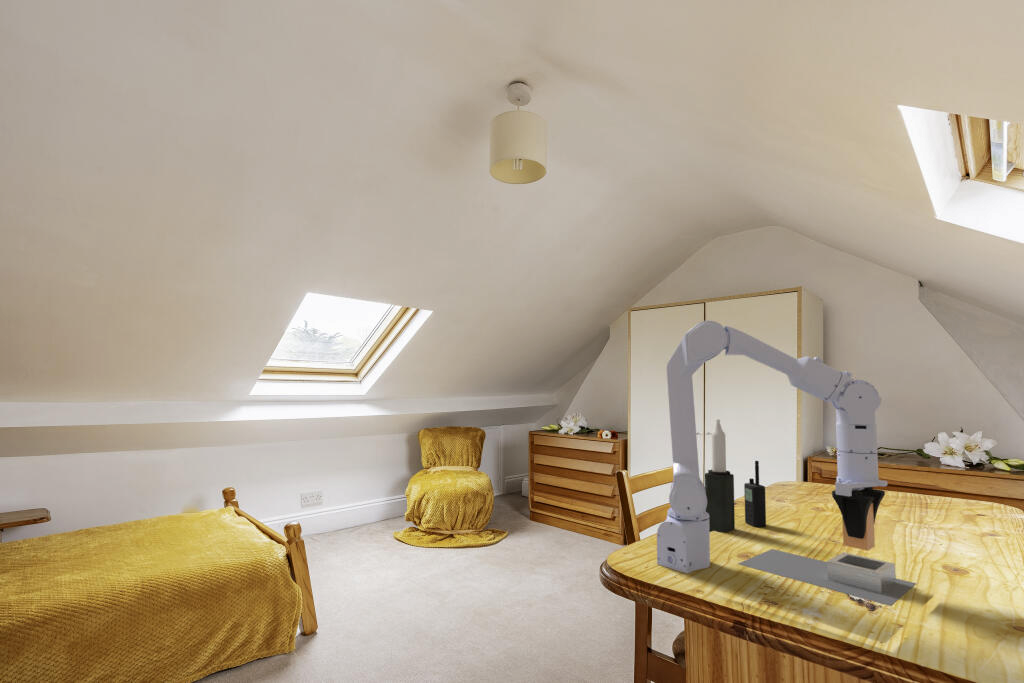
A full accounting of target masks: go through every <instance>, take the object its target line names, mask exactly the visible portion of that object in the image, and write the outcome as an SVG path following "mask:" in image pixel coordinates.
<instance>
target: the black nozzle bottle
mask: <svg viewBox="0 0 1024 683" xmlns="http://www.w3.org/2000/svg"><path fill="white" fill-rule="evenodd" d="M715 421H716V423H715V426H714V429H713V431H712V433H711V469H707V471H708V472H705V473H704V487H705V491H706V497H707V507H706V509H705V511H706V512H707V513H708V514H709V533H711V532H719V533H722V534H723V533H725V534H726V533H729V532H731V531H732V532H733V531H735V530H736V527H735V526H736V523H735V522H736V520H735V518H736V516H735V480H734V479H735V478H734V477H735V476H734V475H735V474H733V473H731V471H729V470H727V457H726V456H727V453H726V452H727V449H726V441H727V440H726V433H725V432H724V430H723V428H722V425H721V420H720V419H719V418H717V419H716V420H715Z"/></svg>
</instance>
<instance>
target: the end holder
mask: <svg viewBox="0 0 1024 683" xmlns="http://www.w3.org/2000/svg"><path fill="white" fill-rule="evenodd" d="M826 562H827V566H828V580H831V581H835V582H839V583H842V584H846V585H850V586H854V587H858V588H862V589H865V590H869V591H873V592H877V593H881V594H882V593H883V592H884V591H886V590H887V589H888V588H889V587H891V586H892V585H893V584H895V583H896V579H897V578H896V576H897V575H896V563H894V562H891V561H885V560H881V559H875V558H872V557H866V556H863V555H859V554H858V555H857V554H853V553H849V552H844V551H843V552H841V553H839V554H837V555H836V556H834V557H832V558H830V559H829V560H828V559H827V561H826Z"/></svg>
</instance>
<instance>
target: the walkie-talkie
mask: <svg viewBox="0 0 1024 683" xmlns="http://www.w3.org/2000/svg"><path fill="white" fill-rule="evenodd" d="M759 463H760V461H759V460H755V461H754V475H755V476H754V477H755V479H754V478H749V482H745V483H744V486H743V487H744V489H743V491H744V521H745V522H744V523H745V524H748V525H749V526H752V527H755V528H766V527H767V515H766V514H767V509H766V508H767V506H766V505H767V504H766V503H767V502H766V487H765V485H762V484H760V466H759V465H760V464H759Z"/></svg>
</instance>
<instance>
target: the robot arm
mask: <svg viewBox="0 0 1024 683" xmlns="http://www.w3.org/2000/svg"><path fill="white" fill-rule="evenodd" d="M724 350H725V353H724V356H745V357H746V358H748V359H750V360H753V361H755V362H757V363H760V364H762V365H764V366H767V367H769V368H771V369H773V370H776V371H778V372H780V373H782V374H785V375H786V376H787V379H788V381H789V383H790V386H792V387H794V388H797V389H799V390H800V391H803V392H804V393H805V394H809V395H811V396H813V397H815V398H817V399H819V400H821V401H824V403H825V402H826V403H831V405H832V406H833V407H834V408H835V415H836V422H835V434H836V435H835V436H836V463H837V464H836V465H837V466H836V468H837V476H836V481H835V482H834V486H835V489H834V490H832V491H831V495H832V498H833V499H834V502H835V503H836V505H837V507H838V508H839V509H838V510H839V511H840V514H841V517H843V520H844V524H845V527H846V531H847V534H848V536H850V537H855V538H860V539H863V538H864V535H865V531H866V521H867V515H868V511H869V508H870V505H871V503H873V515H874V524H875V522H876V518H877V513H878V509H879V507H880V504H881V502H882V500H883V498H884V497H885V494H886V490H882V489H876V488H874V487H886V486H888V481H887V480H882V479H880V478H879V459H878V458H879V457H878V456H879V455H878V434H877V424H876V411H877V410H878V409H879V408H880V405H881V402H882V396H880V395H879V392H878V390H877V388H875V385H873V384H871V383H870V382H868V381H866V380H863V379H853V378H852V376H853V373H852V372H849V371H847V370H845V371H840V370H839V369H837V368H834V367H832V366H830V365H828V364H826V363H824V359H823V358H821V357H819V356H815V357H811V356H809V355H808V356H803V357H799V358H795V357H794V356H791V355H789V354H788V353H786V352H784V351H781V350H779V349H777V348H775V347H773V346H772V345H770V344H767V343H766V342H764V341H762V340H760V339H758V338H756V337H753V336H752V335H750V334H749V333H746V332H743V331H741V330H739V329H736V328H734V327H732V326H727V325H725V326H724V325H722V324H720V323H719V322H718V321H717V322H716V321H713V320H702V321H700V322H698V323H696V324H695V325H694V326H693V327H692V328H691V329H689V330H688V331H686V333H684V335H683V337H682V339H681V340H680V342H679V344H678V346H677V347H676V349H675V350H674V352H673V354H672V355H671V357H670V358H669V360H668V361H667V363H666V379H667V380H666V381H667V394H668V397H667V398H668V408H669V409H668V410H669V422H670V423H669V424H670V425H669V426H670V438H671V439H670V440H671V451H672V452H671V454H672V456H671V457H672V473H673V474H672V478H673V481H672V482H671V486H670V492H669V497H668V502H669V505H670V507H669V508H668V509H667V514H666V518H665V520H664V521H663V522H661V523H660V524H659V526H658V527H657V531H656V563H657V565H659V566H661V567H665V568H667V569H672V570H675V571H677V572H681V573H684V574H689V573H692V572H694V571H698V570H702V569H708V568H709V567H710V566H711V553H710V552H711V550H710V549H711V546H710V545H711V542H710V538H711V537H710V533H711V532H709V514H708V513H707V512H706V511H705V509H706V507H707V497H706V491H705V483H703V481H702V480H701V477H700V469H699V468H700V466H699V465H700V464H699V455H698V454H699V453H698V452H699V451H698V440H697V427H696V426H697V425H696V410H695V399H694V397H695V396H694V385H693V384H694V383H693V375H694V374H695V373H696V371H698V370H699V369H700V368H701V367H702V366H703V365H704V363H706V362H708V361H710V360H712V359H714V358H715V357H717V356H719V355H720V354H721V353H722V352H723V351H724ZM860 493H862V494H860Z"/></svg>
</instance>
